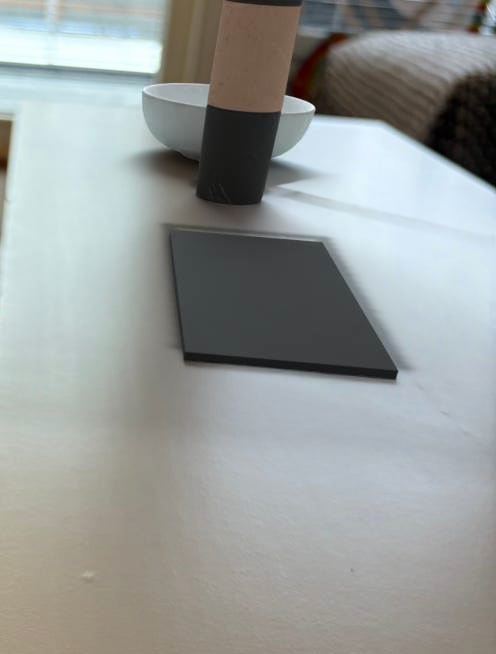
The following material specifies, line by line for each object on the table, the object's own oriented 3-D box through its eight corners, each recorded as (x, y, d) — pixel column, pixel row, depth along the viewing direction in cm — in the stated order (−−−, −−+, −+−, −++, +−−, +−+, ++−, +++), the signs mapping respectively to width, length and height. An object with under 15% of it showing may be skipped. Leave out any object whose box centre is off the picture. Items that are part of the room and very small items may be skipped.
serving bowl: (269, 185, 111) (282, 117, 106) (106, 156, 119) (113, 92, 115) (324, 159, 125) (338, 99, 121) (176, 135, 133) (184, 77, 129)
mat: (169, 235, 90) (170, 229, 90) (320, 248, 90) (322, 241, 89) (183, 360, 65) (185, 351, 64) (396, 379, 64) (398, 370, 64)
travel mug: (208, 184, 109) (243, -32, 97) (274, 196, 106) (318, -26, 94) (182, 196, 104) (215, -31, 92) (250, 208, 101) (293, -25, 89)
